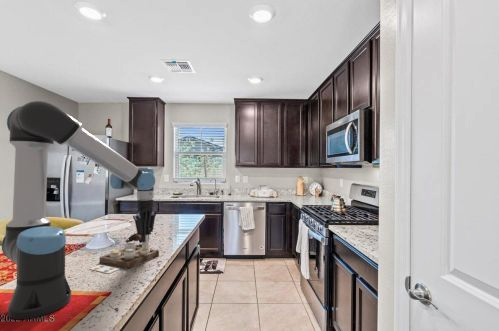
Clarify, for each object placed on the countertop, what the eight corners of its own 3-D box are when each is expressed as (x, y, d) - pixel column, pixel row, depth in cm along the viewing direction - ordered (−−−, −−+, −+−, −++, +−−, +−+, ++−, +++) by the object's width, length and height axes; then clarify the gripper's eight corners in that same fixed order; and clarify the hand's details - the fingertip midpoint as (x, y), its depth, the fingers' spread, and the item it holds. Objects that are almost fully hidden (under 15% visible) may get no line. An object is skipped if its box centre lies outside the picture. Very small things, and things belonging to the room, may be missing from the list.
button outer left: (130, 251, 122) (130, 244, 123) (124, 250, 124) (124, 243, 124) (137, 248, 127) (138, 241, 127) (131, 247, 128) (131, 240, 128)
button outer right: (144, 258, 119) (144, 250, 119) (137, 257, 121) (137, 249, 121) (151, 255, 123) (151, 247, 123) (144, 254, 125) (144, 246, 125)
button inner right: (129, 260, 111) (129, 252, 111) (121, 258, 112) (122, 250, 112) (137, 257, 115) (137, 249, 115) (130, 255, 116) (130, 248, 116)
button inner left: (114, 262, 114) (114, 254, 114) (107, 260, 116) (107, 252, 116) (122, 258, 118) (122, 251, 118) (115, 257, 120) (116, 250, 120)
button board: (128, 268, 108) (128, 262, 108) (99, 262, 115) (99, 257, 115) (158, 255, 124) (158, 250, 124) (131, 250, 131) (131, 246, 131)
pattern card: (109, 273, 102) (109, 272, 102) (88, 269, 107) (88, 268, 107) (119, 269, 107) (119, 268, 107) (99, 265, 112) (99, 264, 112)
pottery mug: (143, 249, 135) (134, 237, 133) (128, 256, 136) (120, 244, 134) (152, 238, 146) (144, 226, 145) (139, 244, 148) (131, 233, 146)
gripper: (140, 201, 115) (140, 253, 115) (161, 198, 127) (160, 245, 127) (128, 200, 118) (128, 251, 117) (149, 197, 130) (149, 243, 129)
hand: (145, 248), depth 122 cm, fingers closed
